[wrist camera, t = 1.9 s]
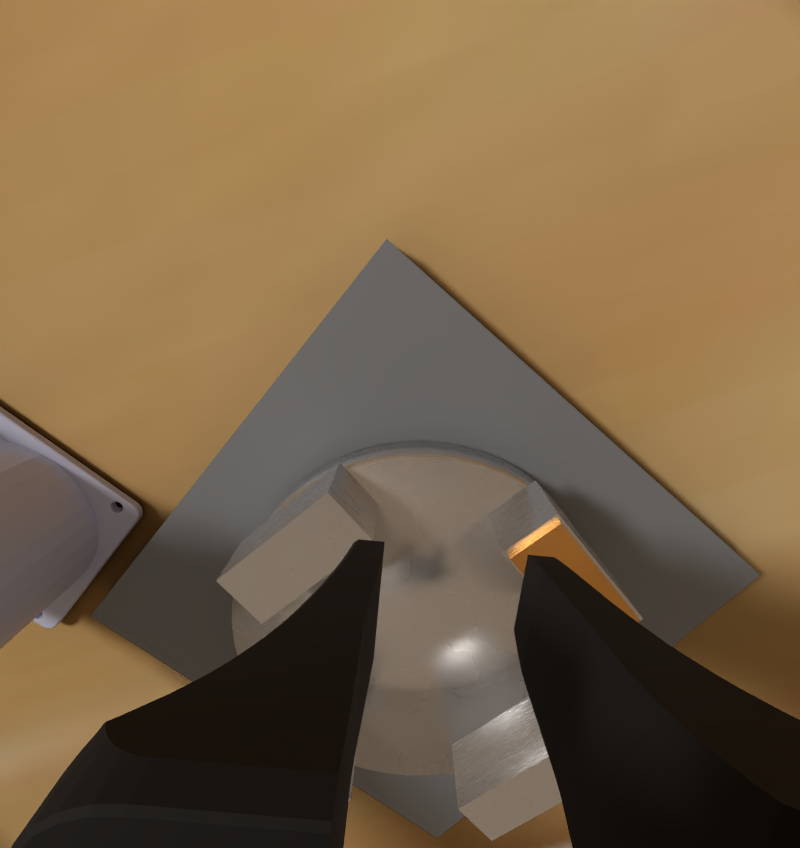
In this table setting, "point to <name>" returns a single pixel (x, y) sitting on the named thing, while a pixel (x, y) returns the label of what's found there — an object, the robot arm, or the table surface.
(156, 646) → the slate plate
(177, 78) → the table surface
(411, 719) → the silver lugged disc
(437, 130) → the table surface
